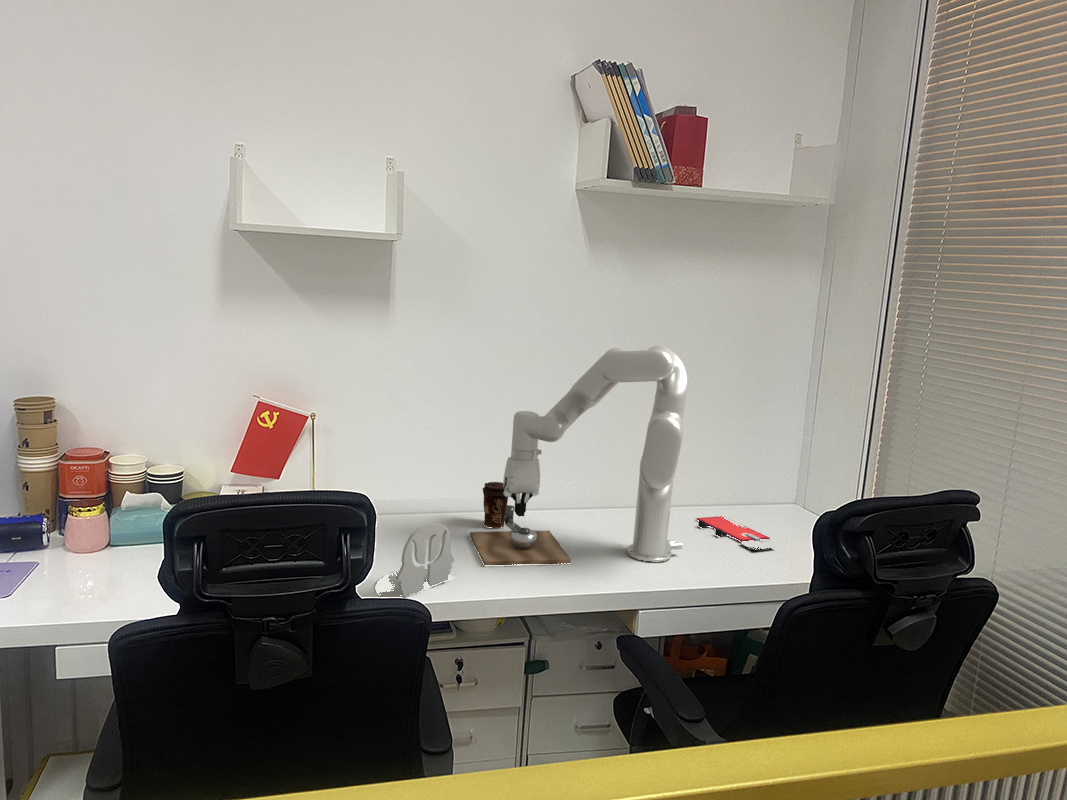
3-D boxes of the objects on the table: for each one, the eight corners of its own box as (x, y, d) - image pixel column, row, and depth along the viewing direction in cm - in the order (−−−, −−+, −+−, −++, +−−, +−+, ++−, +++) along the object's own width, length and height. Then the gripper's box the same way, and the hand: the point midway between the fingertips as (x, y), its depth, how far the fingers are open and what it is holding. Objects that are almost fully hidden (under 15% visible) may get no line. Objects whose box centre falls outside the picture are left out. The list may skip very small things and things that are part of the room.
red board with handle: (748, 554, 236) (786, 550, 242) (749, 545, 235) (787, 541, 242) (686, 523, 262) (722, 520, 269) (687, 514, 262) (723, 512, 268)
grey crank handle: (540, 545, 223) (542, 520, 222) (517, 548, 220) (519, 522, 218) (517, 528, 236) (518, 504, 234) (495, 531, 232) (497, 506, 231)
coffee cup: (475, 521, 247) (478, 481, 244) (500, 520, 250) (503, 479, 248) (486, 531, 239) (488, 489, 237) (511, 529, 242) (514, 487, 240)
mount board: (548, 535, 239) (549, 528, 239) (570, 564, 217) (571, 556, 217) (469, 536, 233) (470, 529, 233) (484, 567, 211) (484, 559, 211)
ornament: (392, 603, 186) (394, 535, 183) (355, 586, 194) (357, 520, 191) (457, 578, 203) (461, 515, 200) (421, 563, 211) (424, 503, 208)
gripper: (542, 450, 237) (538, 509, 240) (495, 451, 231) (491, 512, 234) (552, 456, 230) (548, 517, 233) (504, 458, 224) (500, 520, 227)
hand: (519, 514), depth 234 cm, fingers closed
